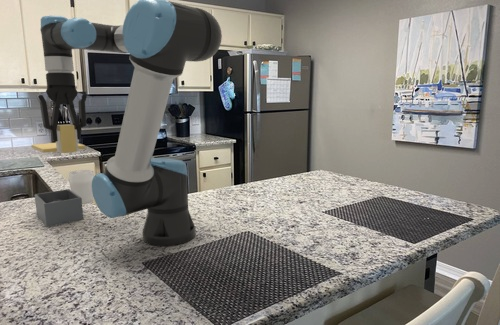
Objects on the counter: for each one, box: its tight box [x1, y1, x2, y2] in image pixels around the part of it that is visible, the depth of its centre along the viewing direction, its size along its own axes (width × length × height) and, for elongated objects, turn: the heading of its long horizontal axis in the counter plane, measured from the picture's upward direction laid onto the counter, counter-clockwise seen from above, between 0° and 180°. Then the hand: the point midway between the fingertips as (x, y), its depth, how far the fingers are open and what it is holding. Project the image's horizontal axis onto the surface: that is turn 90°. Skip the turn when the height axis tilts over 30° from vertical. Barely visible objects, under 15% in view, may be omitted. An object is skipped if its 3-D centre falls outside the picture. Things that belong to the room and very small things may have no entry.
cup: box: [68, 169, 95, 205], centre depth 145 cm, size 9×9×12 cm
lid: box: [31, 124, 86, 154], centre depth 121 cm, size 21×12×8 cm, turn 41°
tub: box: [34, 188, 84, 228], centre depth 127 cm, size 15×11×8 cm
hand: (67, 151), depth 115 cm, fingers closed on lid, 4 cm apart
